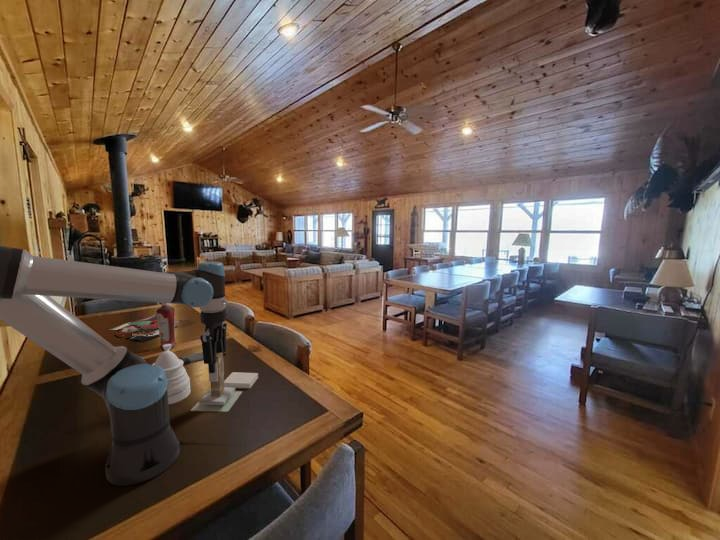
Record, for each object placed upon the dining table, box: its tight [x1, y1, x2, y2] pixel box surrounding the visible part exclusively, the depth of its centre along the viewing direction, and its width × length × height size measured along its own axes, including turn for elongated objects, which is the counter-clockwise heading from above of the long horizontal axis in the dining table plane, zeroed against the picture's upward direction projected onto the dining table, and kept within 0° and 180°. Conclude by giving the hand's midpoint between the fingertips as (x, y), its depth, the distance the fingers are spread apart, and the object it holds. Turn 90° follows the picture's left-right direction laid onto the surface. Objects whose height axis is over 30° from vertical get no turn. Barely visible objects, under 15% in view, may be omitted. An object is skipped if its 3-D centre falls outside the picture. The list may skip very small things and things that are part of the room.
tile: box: [224, 371, 259, 389], centre depth 116 cm, size 3×10×8 cm
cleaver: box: [180, 351, 204, 366], centre depth 135 cm, size 29×10×2 cm, turn 131°
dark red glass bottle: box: [155, 303, 177, 350], centre depth 146 cm, size 7×7×28 cm
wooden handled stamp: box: [198, 353, 236, 405], centre depth 102 cm, size 9×8×15 cm
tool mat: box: [189, 390, 243, 413], centre depth 104 cm, size 12×12×1 cm
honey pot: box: [151, 344, 191, 406], centre depth 105 cm, size 13×13×18 cm
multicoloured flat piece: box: [109, 314, 189, 343], centre depth 176 cm, size 35×35×2 cm
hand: (216, 377), depth 102 cm, fingers open, 3 cm apart
